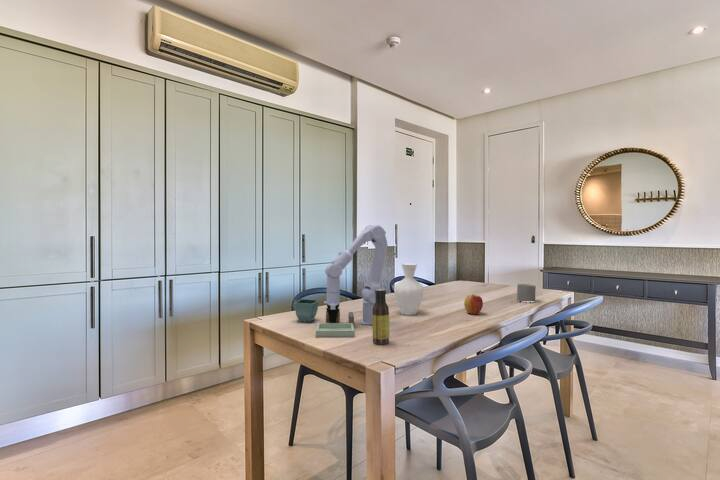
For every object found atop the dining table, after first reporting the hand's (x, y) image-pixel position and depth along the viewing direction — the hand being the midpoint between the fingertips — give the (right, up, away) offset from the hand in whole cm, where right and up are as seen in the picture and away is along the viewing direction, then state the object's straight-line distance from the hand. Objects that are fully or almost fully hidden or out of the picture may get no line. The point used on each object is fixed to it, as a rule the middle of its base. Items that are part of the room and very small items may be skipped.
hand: (332, 322), depth 162 cm
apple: (+69, -2, +27) cm, 74 cm away
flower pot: (-13, -1, +8) cm, 15 cm away
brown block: (0, -2, 0) cm, 2 cm away
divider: (+8, -2, +1) cm, 8 cm away
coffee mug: (+113, -1, +62) cm, 129 cm away
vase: (+36, -1, +26) cm, 44 cm away
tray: (+2, -2, -11) cm, 11 cm away
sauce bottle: (+20, -3, -23) cm, 30 cm away
